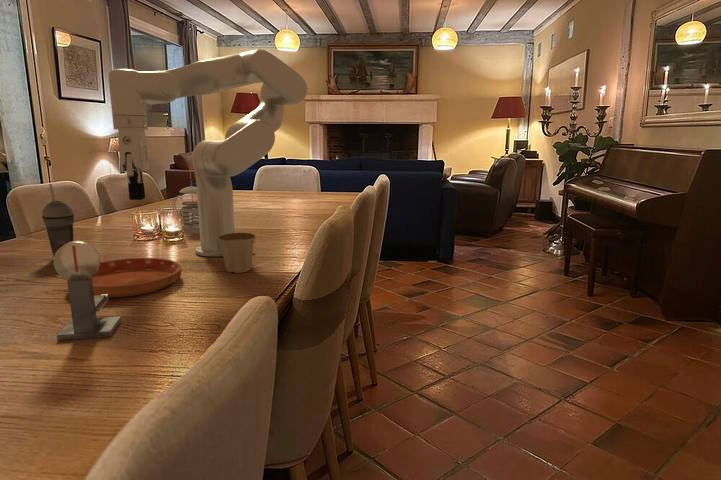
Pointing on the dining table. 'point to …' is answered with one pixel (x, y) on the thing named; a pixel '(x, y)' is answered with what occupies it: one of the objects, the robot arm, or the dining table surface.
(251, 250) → the flower pot
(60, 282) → the dining table surface
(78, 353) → the dining table surface
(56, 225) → the beverage cup
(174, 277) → the saucer
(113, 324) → the indicator stand
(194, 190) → the french press
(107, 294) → the plunger
